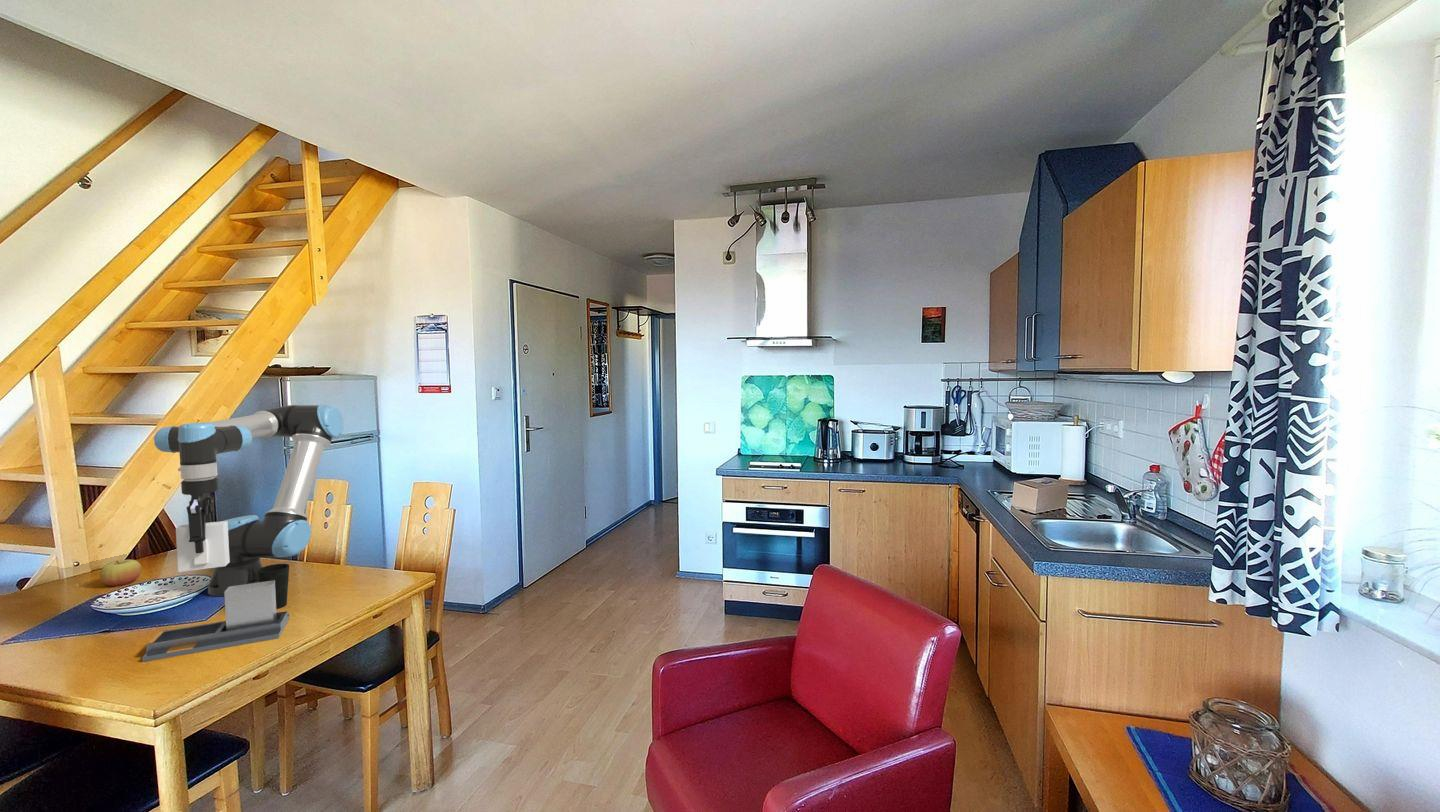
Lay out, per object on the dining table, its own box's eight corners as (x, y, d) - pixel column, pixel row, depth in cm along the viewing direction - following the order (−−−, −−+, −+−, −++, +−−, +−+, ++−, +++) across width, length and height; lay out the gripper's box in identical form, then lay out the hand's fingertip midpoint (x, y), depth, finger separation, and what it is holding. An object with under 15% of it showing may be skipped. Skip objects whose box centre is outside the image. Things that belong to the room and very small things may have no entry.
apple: (97, 584, 190) (95, 561, 190) (138, 576, 198) (137, 553, 198) (103, 591, 185) (101, 567, 184) (145, 582, 193) (144, 559, 192)
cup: (273, 612, 168) (271, 573, 168) (252, 610, 170) (250, 571, 169) (297, 602, 176) (295, 564, 175) (277, 600, 178) (275, 562, 177)
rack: (165, 638, 152) (162, 590, 152) (289, 617, 165) (287, 573, 164) (142, 661, 140) (139, 609, 139) (278, 638, 153) (276, 590, 152)
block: (183, 567, 159) (181, 525, 158) (229, 561, 163) (227, 520, 163) (178, 572, 155) (175, 528, 154) (225, 566, 160) (223, 524, 159)
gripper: (192, 474, 163) (197, 554, 165) (169, 485, 148) (174, 573, 150) (226, 472, 167) (230, 550, 169) (206, 482, 152) (211, 568, 153)
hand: (204, 560), depth 159 cm, fingers closed on block, 4 cm apart
